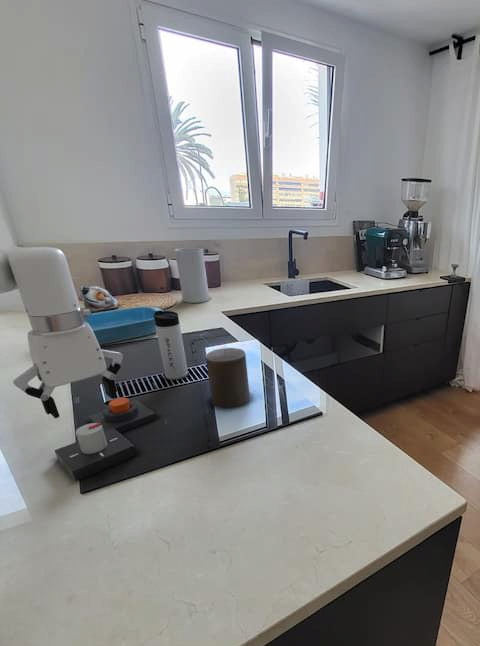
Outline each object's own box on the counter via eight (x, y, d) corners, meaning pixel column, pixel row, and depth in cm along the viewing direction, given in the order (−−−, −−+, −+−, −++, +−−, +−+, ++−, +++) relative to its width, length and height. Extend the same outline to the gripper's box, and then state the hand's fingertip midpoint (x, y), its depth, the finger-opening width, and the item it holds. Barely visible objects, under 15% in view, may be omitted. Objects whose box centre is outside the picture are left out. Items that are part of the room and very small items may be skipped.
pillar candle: (231, 414, 98) (224, 359, 92) (204, 404, 103) (195, 351, 97) (258, 398, 106) (253, 347, 100) (232, 390, 111) (225, 340, 104)
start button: (115, 415, 90) (113, 407, 89) (107, 409, 92) (105, 402, 91) (133, 409, 93) (131, 401, 92) (126, 403, 95) (124, 396, 94)
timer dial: (86, 456, 77) (79, 436, 75) (78, 448, 79) (71, 428, 77) (110, 447, 80) (105, 427, 78) (102, 438, 82) (96, 419, 80)
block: (107, 440, 87) (103, 425, 85) (90, 424, 93) (85, 409, 91) (157, 420, 95) (154, 406, 93) (138, 407, 101) (135, 393, 99)
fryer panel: (76, 484, 74) (71, 470, 73) (58, 462, 80) (54, 449, 78) (136, 457, 82) (133, 444, 81) (116, 439, 87) (113, 427, 86)
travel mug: (177, 371, 121) (166, 308, 113) (193, 375, 119) (182, 311, 111) (160, 378, 116) (147, 313, 108) (175, 383, 113) (163, 316, 105)
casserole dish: (62, 355, 130) (55, 335, 127) (50, 338, 145) (44, 319, 142) (175, 332, 153) (172, 315, 151) (155, 319, 168) (152, 303, 165)
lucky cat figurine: (126, 305, 186) (120, 283, 176) (110, 321, 178) (102, 299, 168) (95, 295, 186) (87, 271, 175) (78, 311, 178) (68, 287, 167)
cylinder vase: (213, 300, 200) (207, 250, 190) (189, 304, 191) (181, 252, 181) (202, 296, 208) (195, 247, 197) (178, 300, 199) (170, 249, 189)
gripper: (102, 307, 77) (123, 385, 84) (-12, 328, 65) (23, 417, 72) (119, 314, 73) (139, 395, 80) (-1, 338, 61) (36, 431, 68)
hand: (84, 405), depth 76 cm, fingers open, 9 cm apart
